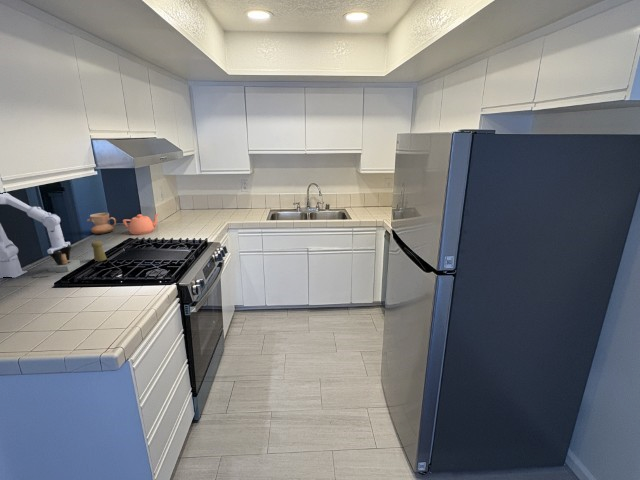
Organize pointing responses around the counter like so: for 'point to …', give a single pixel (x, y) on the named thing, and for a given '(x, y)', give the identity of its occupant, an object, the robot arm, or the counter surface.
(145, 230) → the teapot
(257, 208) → the counter surface
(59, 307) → the counter surface
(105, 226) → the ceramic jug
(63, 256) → the peg
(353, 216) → the counter surface
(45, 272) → the pad
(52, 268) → the socket
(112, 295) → the counter surface
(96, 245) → the olive pepper mill
